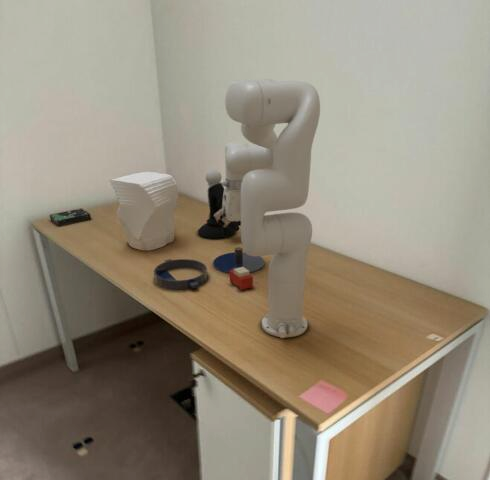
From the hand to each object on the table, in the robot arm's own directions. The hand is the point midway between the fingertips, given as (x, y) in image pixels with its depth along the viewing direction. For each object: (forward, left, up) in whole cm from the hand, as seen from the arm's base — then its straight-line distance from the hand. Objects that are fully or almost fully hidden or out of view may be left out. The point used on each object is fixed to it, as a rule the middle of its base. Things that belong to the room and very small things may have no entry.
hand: (238, 234), depth 158 cm
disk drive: (+50, +75, -12) cm, 91 cm away
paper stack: (+22, +32, -11) cm, 40 cm away
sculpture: (+29, +7, -12) cm, 32 cm away
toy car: (-17, -1, -11) cm, 20 cm away
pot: (-11, +19, -11) cm, 25 cm away
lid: (0, 0, -11) cm, 11 cm away
